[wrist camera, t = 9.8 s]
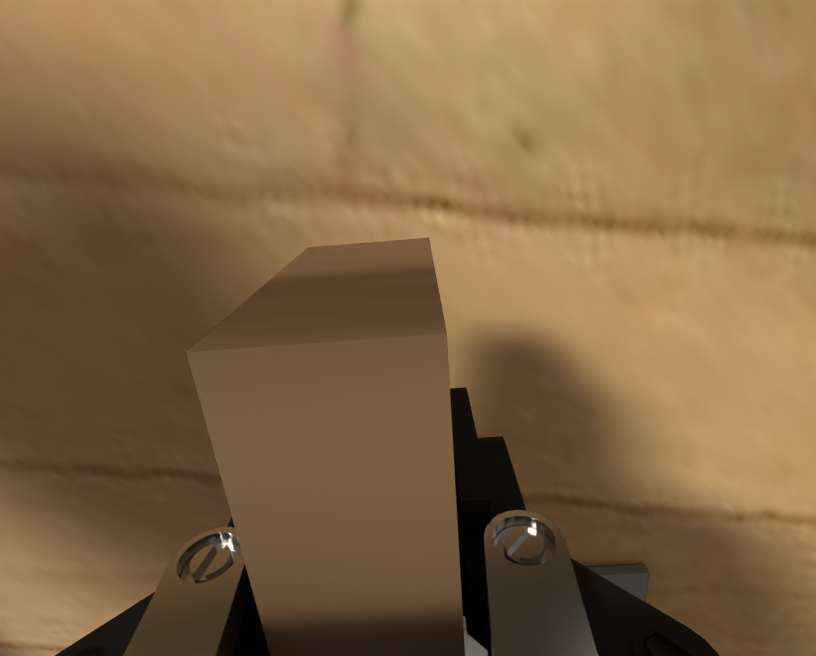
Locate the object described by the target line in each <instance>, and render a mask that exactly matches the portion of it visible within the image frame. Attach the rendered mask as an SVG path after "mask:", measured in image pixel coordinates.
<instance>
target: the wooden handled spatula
mask: <svg viewBox="0 0 816 656" xmlns="http://www.w3.org/2000/svg"><path fill="white" fill-rule="evenodd" d="M186 354H187V358H188V361H189V365H190V368H191V372H192V376H193V379H194V383H195V386H196V390H197V394H198V397H199V401H200V404H201V408H202V411H203V415H204V419H205V422H206V426H207V429H208V433H209V437H210V440H211V444H212V447H213V451H214V455H215V458H216V462H217V465H218V469H219V473H220V476H221V480H222V483H223V487H224V490H225V494H226V498H227V501H228V505H229V508H230V512H231V516H232V519H233V523H234V526H235V530H236V534H237V537H238V541H239V544H240V548H241V552H242V555H243V559H244V562H245V566H246V569H247V573H248V577H249V580H250V584H251V587H252V591H253V595H254V598H255V602H256V605H257V609H258V613H259V616H260V620H261V623H262V627H263V631H264V634H265V638H266V641H267V645H268V649H269V652H270V656H487V650H486V649H485V648H484V647H482V646H481V645H480V644H479V643H478V642H477V641H475V640H474V639H473V638H472V637H471V636H470V635H467V629H466V620H465V617H463V611H462V593H461V575H460V558H459V540H458V523H457V505H456V487H455V470H454V452H453V435H452V417H451V399H450V382H449V364H448V347H447V332H446V327H445V321H444V316H443V311H442V305H441V300H440V295H439V289H438V284H437V279H436V273H435V268H434V262H433V257H432V252H431V246H430V241H429V238H420V239H408V240H396V241H384V242H371V243H359V244H347V245H334V246H322V247H310V248H307V249H306V250H305V251H303V252H302V253H301V254H300V255H299V256H298V257H296V258H295V259H294V260H293V261H292V262H291V263H290V264H288V265H287V266H286V267H285V268H284V269H283V270H281V271H280V272H279V273H278V274H277V275H276V276H274V277H273V278H272V279H271V280H270V281H269V282H267V283H266V284H265V285H264V286H263V287H262V288H260V289H259V290H258V291H257V292H256V293H255V294H253V295H252V296H251V297H250V298H249V299H248V300H246V301H245V302H244V303H243V304H242V305H241V306H240V307H238V308H237V309H236V310H235V311H234V312H233V313H231V314H230V315H229V316H228V317H227V318H226V319H224V320H223V321H222V322H221V323H220V324H219V325H217V326H216V327H215V328H214V329H213V330H212V331H210V332H209V333H208V334H207V335H206V336H205V337H203V338H202V339H201V340H200V341H199V342H198V343H197V344H195V345H194V346H193V347H192V348H191V349H190V350H188V351H187V352H186Z"/></svg>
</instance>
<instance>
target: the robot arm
mask: <svg viewBox="0 0 816 656" xmlns="http://www.w3.org/2000/svg"><path fill="white" fill-rule="evenodd" d="M450 399H451V417H452V435H453V452H454V470H455V487H456V505H457V523H458V540H459V558H460V575H461V593H462V611H463V617H465V620H466V629H467V635H470V636H471V637H472V638H473V639H474V640H475V641H477V642H478V643H479V644H480V645H481V646H482V647H484V648H485V649H486V650H487V656H719V655H718V653H717V652H716V651H715V650H714V649H713V648H712V647H711V646H710V645H709V644H708V642H707V641H706V640H705V639H703V638H702V637H701V636H699V635H698V634H697V633H695V632H694V631H692V630H691V629H690V628H688V627H686V626H685V625H683V624H681V623H680V622H678V621H676V620H675V619H673V618H671V617H670V616H668V615H666V614H664V613H663V612H661V611H659V610H658V609H656V608H654V607H653V606H651V605H649V604H647V603H646V602H644V601H642V600H641V599H639V598H637V597H636V596H634V595H632V594H631V593H629V592H627V591H625V590H624V589H622V588H620V587H619V586H617V585H615V584H614V583H612V582H610V581H608V580H607V579H605V578H603V577H602V576H600V575H598V574H597V573H595V572H593V571H592V570H590V569H588V568H586V567H585V566H583V565H581V564H580V563H578V562H576V561H575V560H573V559H571V558H570V556H569V552H568V549H567V545H566V542H565V539H564V537H563V535H562V533H561V531H560V529H559V528H558V527H557V526H556V525H555V524H554V523H553V522H552V521H550V520H549V519H547V518H546V517H544V516H542V515H540V514H537V513H534V512H531V511H526V508H525V505H524V502H523V498H522V495H521V492H520V489H519V486H518V482H517V479H516V476H515V473H514V470H513V466H512V463H511V460H510V457H509V454H508V450H507V447H506V444H505V441H504V438H503V437H502V436H501V437H485V438H477V433H476V429H475V424H474V420H473V415H472V411H471V406H470V402H469V397H468V393H467V389H466V388H452V389H450ZM55 656H270V652H269V649H268V645H267V641H266V638H265V634H264V631H263V627H262V623H261V620H260V616H259V613H258V609H257V605H256V602H255V598H254V595H253V591H252V587H251V584H250V580H249V577H248V573H247V569H246V566H245V562H244V559H243V555H242V552H241V548H240V544H239V541H238V537H237V534H236V530H235V526H234V523H233V519H232V518H231V520H230V522H229V524H228V526H227V527H219V528H214V529H210V530H207V531H205V532H203V533H201V534H198V535H197V536H195V537H194V538H192V539H190V540H189V541H187V542H186V543H185V544H184V545H183V546H182V547H181V548H180V549H179V550H178V551H177V552H176V554H175V555H174V557H173V558H172V560H171V561H170V563H169V565H168V567H167V569H166V571H165V573H164V575H163V577H162V579H161V581H160V583H159V585H158V587H157V589H156V591H155V592H154V593H152V594H151V595H149V596H148V597H146V598H144V599H143V600H141V601H140V602H138V603H137V604H135V605H133V606H132V607H130V608H129V609H127V610H126V611H124V612H122V613H121V614H119V615H118V616H116V617H115V618H113V619H111V620H110V621H108V622H107V623H105V624H104V625H102V626H100V627H99V628H97V629H96V630H94V631H93V632H91V633H90V634H88V635H86V636H85V637H83V638H82V639H80V640H79V641H77V642H75V643H74V644H72V645H71V646H69V647H68V648H66V649H64V650H63V651H61V652H60V653H58V654H57V655H55ZM738 656H739V655H738Z"/></svg>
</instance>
